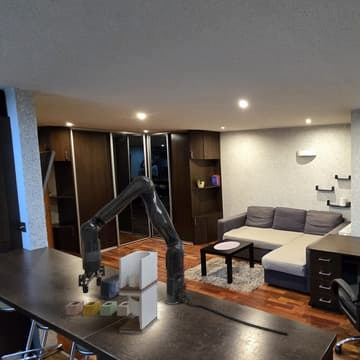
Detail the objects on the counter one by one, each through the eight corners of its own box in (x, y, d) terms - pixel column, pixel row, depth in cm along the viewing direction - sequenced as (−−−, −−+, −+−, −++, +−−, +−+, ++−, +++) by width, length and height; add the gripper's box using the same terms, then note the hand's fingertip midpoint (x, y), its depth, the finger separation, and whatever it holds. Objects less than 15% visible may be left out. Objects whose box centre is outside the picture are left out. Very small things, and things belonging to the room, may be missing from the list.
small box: (108, 300, 154) (108, 282, 154) (99, 298, 156) (99, 281, 155) (125, 292, 165) (125, 275, 164) (116, 290, 166) (116, 274, 166)
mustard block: (100, 310, 144) (100, 301, 144) (92, 315, 139) (92, 306, 139) (90, 310, 144) (90, 300, 144) (82, 315, 139) (82, 305, 139)
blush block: (84, 310, 144) (84, 300, 143) (76, 315, 139) (76, 305, 138) (74, 310, 144) (74, 300, 143) (66, 315, 139) (66, 305, 138)
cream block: (133, 310, 145) (133, 301, 144) (127, 316, 140) (126, 306, 139) (123, 310, 144) (123, 301, 144) (117, 315, 139) (117, 306, 139)
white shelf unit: (136, 318, 137) (136, 251, 136) (157, 319, 137) (157, 251, 135) (119, 332, 126) (119, 258, 124) (141, 333, 126) (141, 259, 124)
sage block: (117, 310, 144) (117, 301, 144) (110, 315, 139) (110, 306, 139) (107, 310, 144) (107, 301, 144) (100, 315, 139) (100, 306, 139)
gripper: (88, 263, 133) (88, 295, 134) (109, 254, 147) (110, 283, 148) (72, 263, 133) (73, 295, 134) (95, 254, 147) (96, 283, 148)
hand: (92, 289), depth 141 cm, fingers open, 8 cm apart
